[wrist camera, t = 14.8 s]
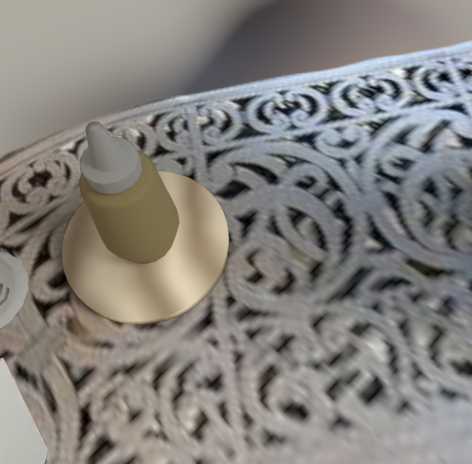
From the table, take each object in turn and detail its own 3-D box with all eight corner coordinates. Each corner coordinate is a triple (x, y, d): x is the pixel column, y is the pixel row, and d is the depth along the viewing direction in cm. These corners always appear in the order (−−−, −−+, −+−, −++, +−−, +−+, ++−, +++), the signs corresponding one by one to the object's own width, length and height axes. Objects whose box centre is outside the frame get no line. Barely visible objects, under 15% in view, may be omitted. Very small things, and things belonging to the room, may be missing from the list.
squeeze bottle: (170, 197, 49) (131, 73, 33) (195, 257, 46) (165, 150, 30) (101, 222, 48) (27, 106, 32) (121, 286, 45) (49, 191, 29)
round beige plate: (203, 161, 53) (198, 128, 48) (250, 294, 45) (250, 272, 40) (57, 201, 51) (35, 172, 46) (79, 348, 43) (55, 333, 38)
